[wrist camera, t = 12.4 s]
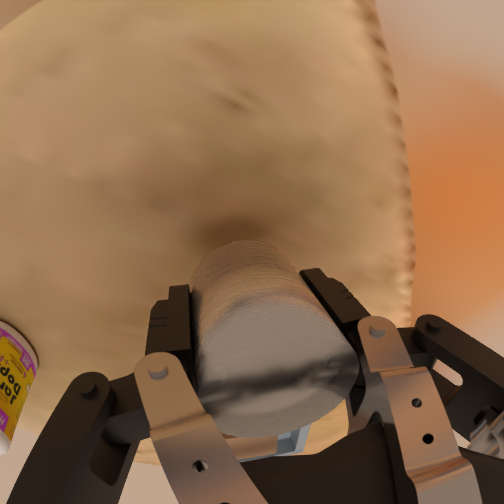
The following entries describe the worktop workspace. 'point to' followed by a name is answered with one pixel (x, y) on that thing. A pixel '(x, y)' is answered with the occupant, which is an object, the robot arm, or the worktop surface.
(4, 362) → the supplement bottle
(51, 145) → the worktop surface
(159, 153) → the worktop surface
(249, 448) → the walnut block
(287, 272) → the grey rounded cylinder
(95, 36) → the worktop surface
